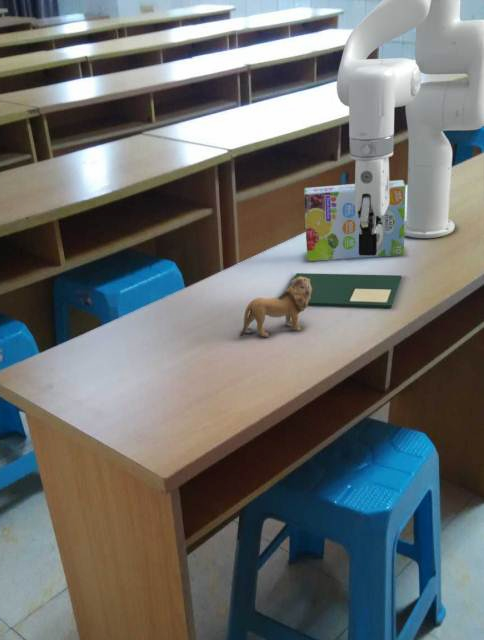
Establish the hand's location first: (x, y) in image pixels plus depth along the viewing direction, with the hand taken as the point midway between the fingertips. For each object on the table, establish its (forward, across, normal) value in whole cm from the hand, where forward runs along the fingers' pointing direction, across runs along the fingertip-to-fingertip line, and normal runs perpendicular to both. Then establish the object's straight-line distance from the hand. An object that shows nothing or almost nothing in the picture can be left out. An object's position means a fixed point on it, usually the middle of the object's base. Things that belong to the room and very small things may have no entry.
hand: (370, 248), depth 134 cm
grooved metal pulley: (+1, 0, 0) cm, 1 cm away
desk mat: (+10, +4, +6) cm, 13 cm away
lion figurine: (+11, -15, +14) cm, 23 cm away
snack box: (+10, +24, +8) cm, 27 cm away
